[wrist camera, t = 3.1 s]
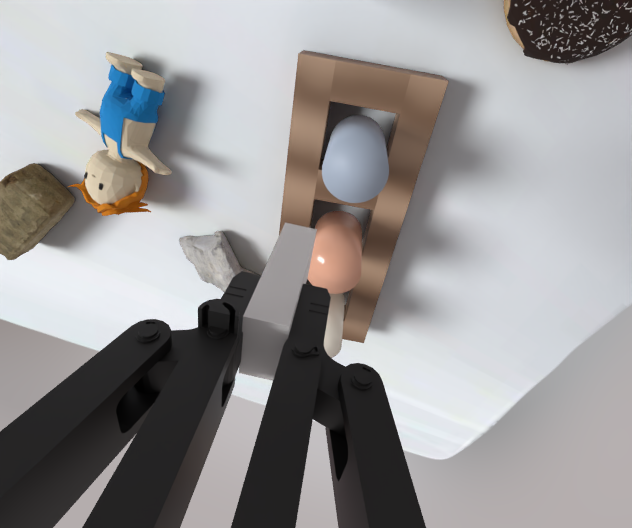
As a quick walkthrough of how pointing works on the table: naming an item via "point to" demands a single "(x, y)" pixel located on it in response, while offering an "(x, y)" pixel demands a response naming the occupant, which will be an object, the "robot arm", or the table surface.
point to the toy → (123, 139)
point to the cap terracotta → (336, 252)
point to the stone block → (29, 208)
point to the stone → (212, 258)
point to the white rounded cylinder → (334, 325)
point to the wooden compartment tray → (402, 151)
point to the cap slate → (356, 160)
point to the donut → (568, 27)
